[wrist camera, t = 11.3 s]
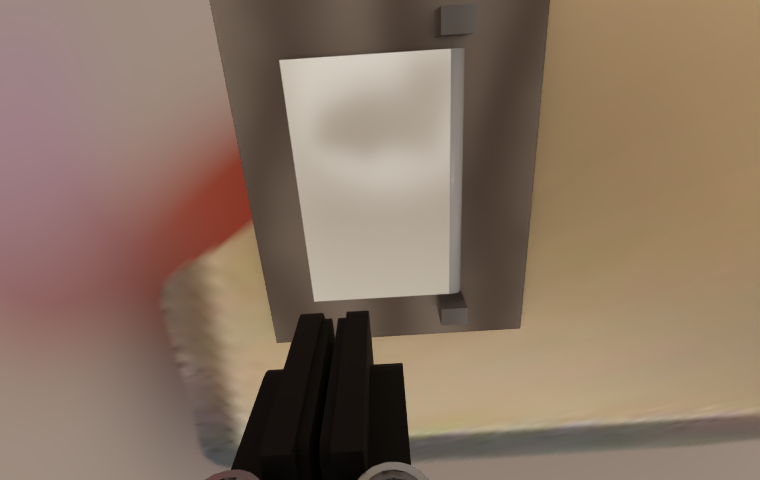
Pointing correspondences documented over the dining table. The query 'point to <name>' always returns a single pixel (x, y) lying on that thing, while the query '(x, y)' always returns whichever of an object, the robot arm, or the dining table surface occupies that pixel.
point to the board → (480, 144)
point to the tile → (379, 170)
